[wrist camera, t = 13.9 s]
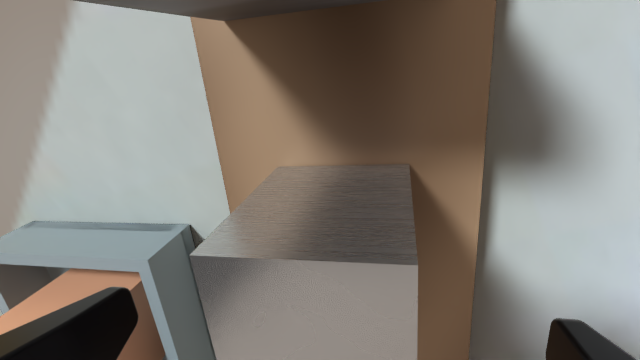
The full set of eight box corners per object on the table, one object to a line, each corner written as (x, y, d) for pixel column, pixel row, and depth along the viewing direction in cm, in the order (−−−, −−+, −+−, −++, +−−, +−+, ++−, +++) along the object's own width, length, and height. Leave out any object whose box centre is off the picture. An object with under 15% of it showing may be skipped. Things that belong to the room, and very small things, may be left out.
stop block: (99, 337, 17) (15, 419, 13) (72, 267, 15) (-32, 337, 12) (172, 345, 16) (103, 436, 12) (149, 272, 14) (64, 350, 11)
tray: (90, 354, 18) (46, 398, 16) (32, 221, 16) (-30, 251, 13) (226, 372, 16) (199, 424, 14) (189, 224, 14) (147, 259, 11)
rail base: (277, 386, 16) (214, 561, 11) (199, -28, 10) (-32, -114, 5) (458, 410, 14) (496, 638, 9) (492, -78, 8) (669, -311, 3)
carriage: (292, 273, 12) (229, 409, 8) (277, 166, 11) (189, 255, 6) (409, 279, 11) (416, 438, 7) (409, 163, 10) (418, 265, 5)
